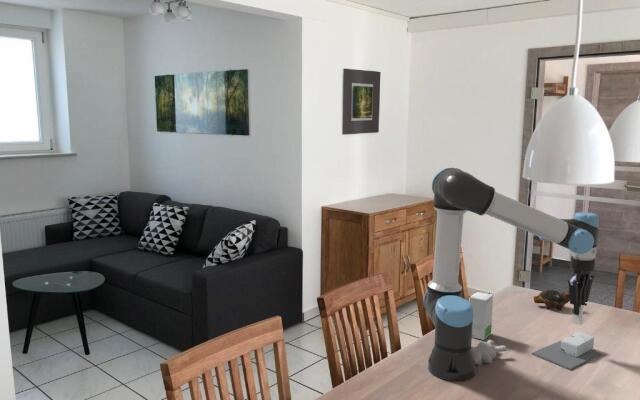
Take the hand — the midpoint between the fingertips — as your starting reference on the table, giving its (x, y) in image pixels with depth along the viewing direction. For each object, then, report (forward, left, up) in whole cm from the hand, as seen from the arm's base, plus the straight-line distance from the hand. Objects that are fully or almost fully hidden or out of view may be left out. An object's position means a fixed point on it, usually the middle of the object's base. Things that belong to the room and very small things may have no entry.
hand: (577, 322), depth 187 cm
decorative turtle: (+32, +29, -11) cm, 45 cm away
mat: (-5, 0, -11) cm, 12 cm away
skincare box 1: (-17, +28, -11) cm, 34 cm away
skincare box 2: (+7, 0, -8) cm, 10 cm away
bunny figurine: (-31, +14, -11) cm, 36 cm away
